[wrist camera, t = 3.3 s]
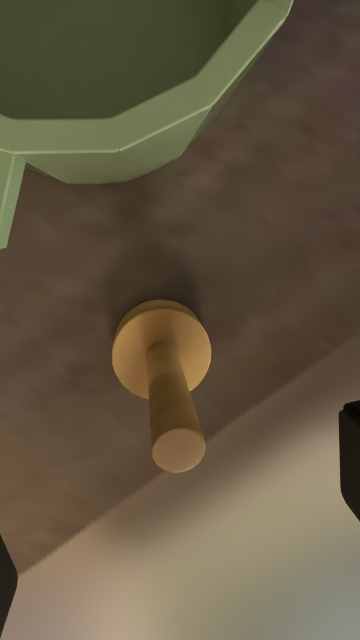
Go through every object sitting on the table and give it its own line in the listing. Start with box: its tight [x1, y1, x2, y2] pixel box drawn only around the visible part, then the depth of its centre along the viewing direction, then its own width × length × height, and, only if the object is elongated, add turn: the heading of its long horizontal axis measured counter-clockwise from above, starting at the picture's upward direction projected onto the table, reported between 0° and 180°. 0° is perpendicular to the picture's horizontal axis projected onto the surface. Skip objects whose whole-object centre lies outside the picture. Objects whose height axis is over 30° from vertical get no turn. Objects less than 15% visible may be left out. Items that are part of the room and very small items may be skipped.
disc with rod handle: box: [112, 299, 211, 472], centre depth 14 cm, size 5×5×9 cm
